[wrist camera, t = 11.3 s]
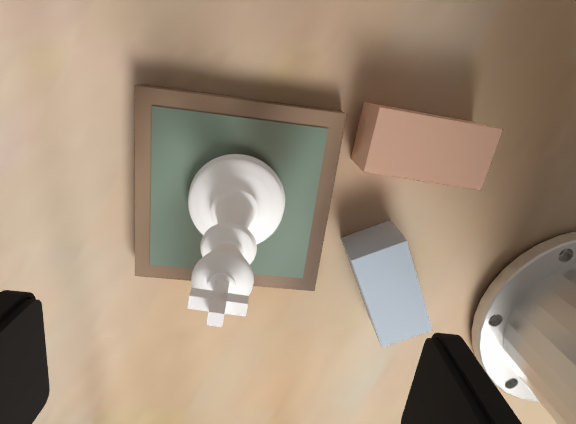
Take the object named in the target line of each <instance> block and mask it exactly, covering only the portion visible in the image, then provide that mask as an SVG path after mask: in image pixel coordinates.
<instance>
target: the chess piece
mask: <svg viewBox="0 0 576 424" xmlns="http://www.w3.org/2000/svg"><path fill="white" fill-rule="evenodd" d="M188 208H189V213H190V216H191V219H192V221H193V223H194V225H195V226H196V228H197V229H198V230H199V231H200V233H201V234H202V235H203V237H202V240H201V244H200V250H201V254H202V258H201V259H200V260H199V261H198V262H197V264H196V265H195V267H194V269H193V272H192V276H191V282H192V287H193V288H192V289H191V292H190V296H189V302H188V309H195V310H202V311H209V313H208V319H207V324H206V325H210V326H218V327H222V325H223V320H224V314H231V315H238V316H246V311H247V307H248V295H249V294H250V292H251V291H252V288H253V284H254V275H253V271H252V269H251V267H250V264H251V263H252V261H253V260H254V258H255V256H256V252H257V244H259V243H261V242H262V241H264V240H266V239H267V238H268V237H269V236H270V235H272V234H273V232H274V231H275V230H276V229H277V227H278V225H279V224H280V222H281V219H282V216H283V213H284V208H285V193H284V189H283V186H282V183H281V181H280V179H279V177H278V176H277V174H276V173H275V172H274V171H273V170H272V169H271V168H270V167H269V166H268V165H267V164H265V163H264V162H262V161H261V160H259V159H257V158H254V157H251V156H248V155H243V154H229V155H223V156H220V157H217V158H215V159H213V160H211V161H209V162H208V163H206V164H205V165H204V166H203V167H202V168H201V169H200V170H199V171H198V172H197V174H196V175H195V177H194V178H193V180H192V183H191V185H190V189H189V196H188Z"/></svg>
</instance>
